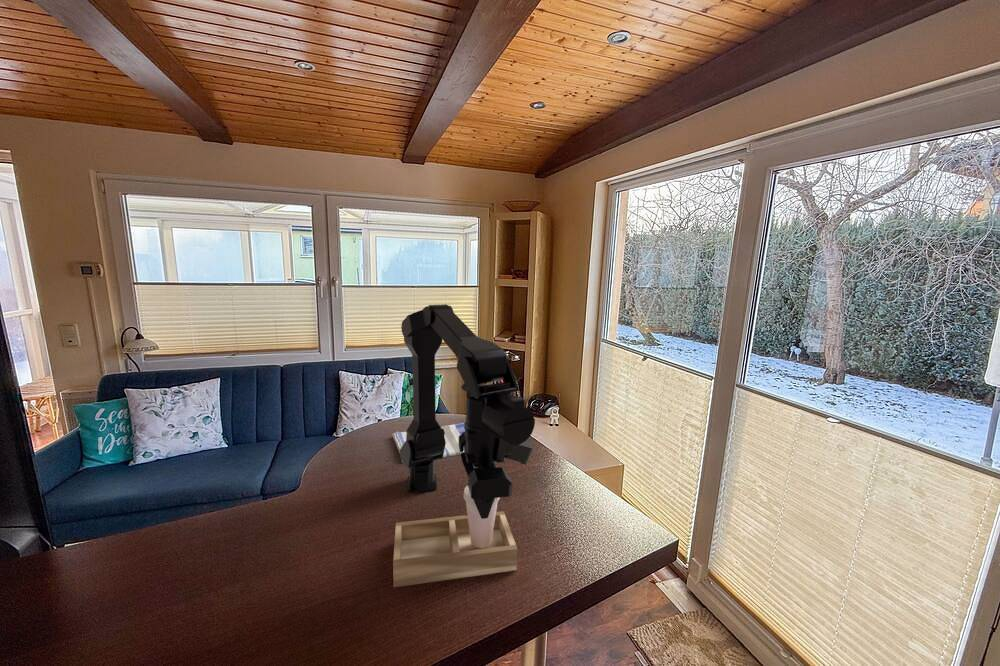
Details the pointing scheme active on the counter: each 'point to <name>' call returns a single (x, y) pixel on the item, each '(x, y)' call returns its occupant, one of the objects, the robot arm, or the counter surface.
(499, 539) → the tray
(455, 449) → the dish towel
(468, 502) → the smoothie
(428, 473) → the robot arm
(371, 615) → the counter surface
